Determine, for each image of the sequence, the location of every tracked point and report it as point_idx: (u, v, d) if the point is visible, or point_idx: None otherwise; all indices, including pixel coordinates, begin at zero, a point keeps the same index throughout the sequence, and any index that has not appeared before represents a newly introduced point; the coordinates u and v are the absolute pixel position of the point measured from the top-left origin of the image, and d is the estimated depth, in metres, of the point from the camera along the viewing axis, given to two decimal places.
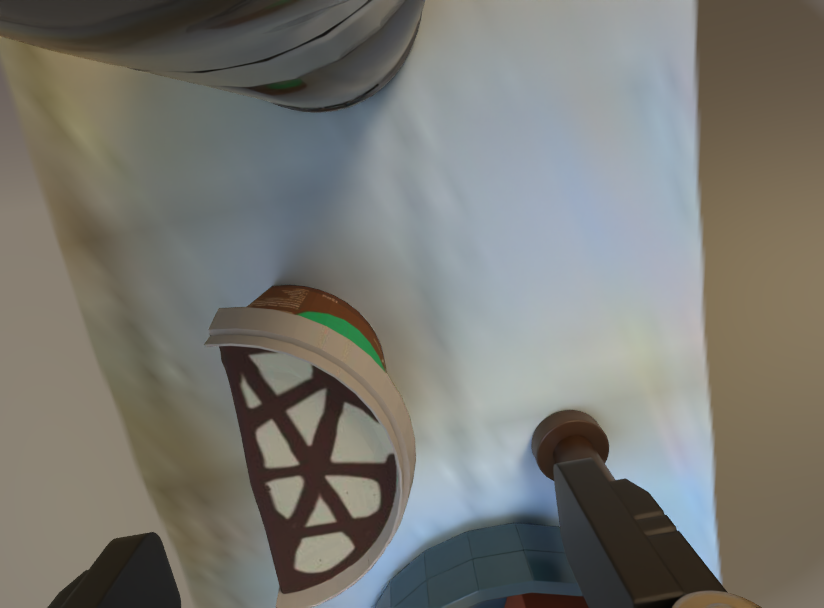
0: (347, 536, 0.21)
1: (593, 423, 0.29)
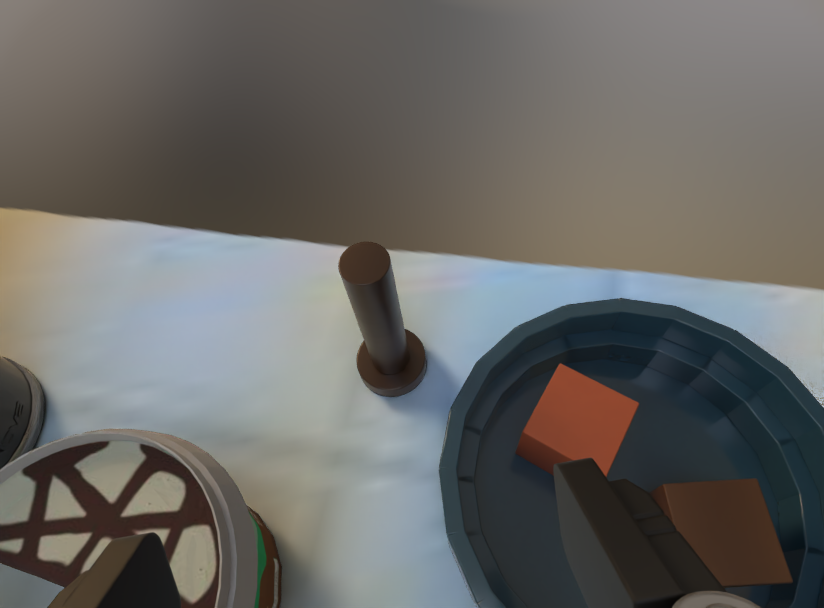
0: (192, 526, 0.20)
1: None
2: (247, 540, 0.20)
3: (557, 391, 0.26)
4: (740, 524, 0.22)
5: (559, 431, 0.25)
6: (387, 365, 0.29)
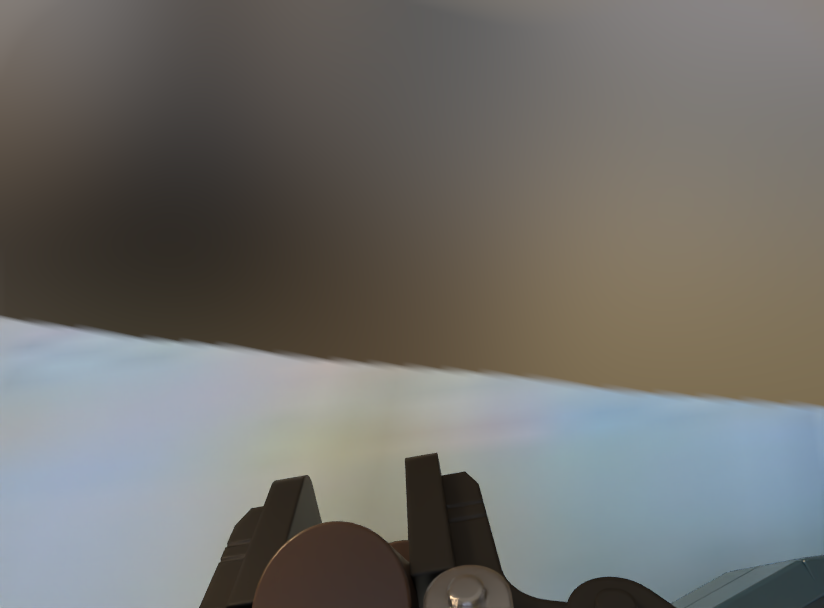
0: None
1: None
2: None
3: None
4: None
5: None
6: None
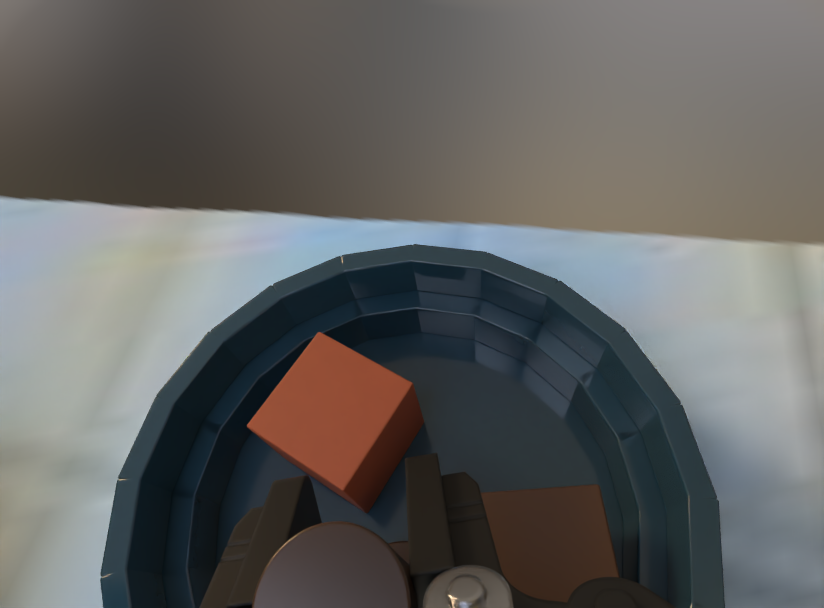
0: None
1: None
2: None
3: (305, 370, 0.18)
4: (564, 554, 0.15)
5: (295, 424, 0.17)
6: None
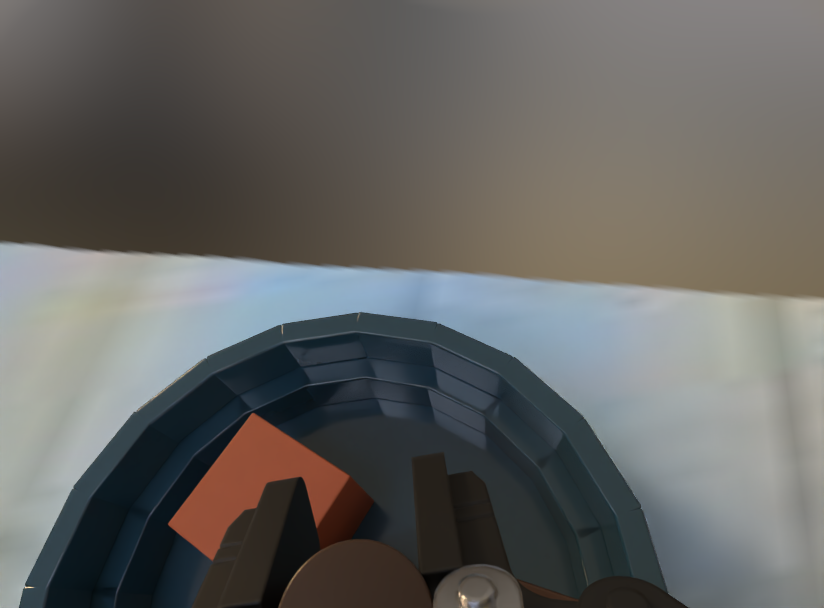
0: None
1: None
2: None
3: (235, 458, 0.17)
4: None
5: (220, 523, 0.16)
6: None
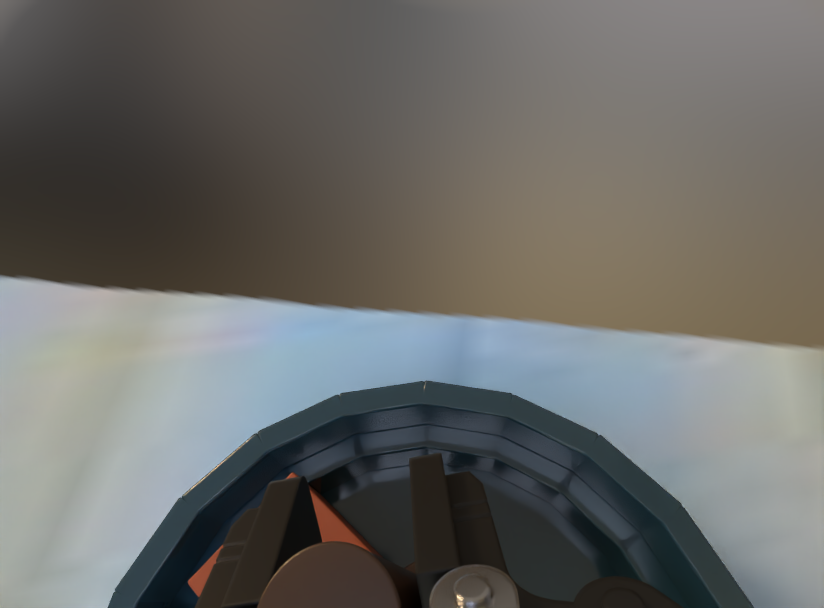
0: None
1: None
2: None
3: None
4: None
5: None
6: None
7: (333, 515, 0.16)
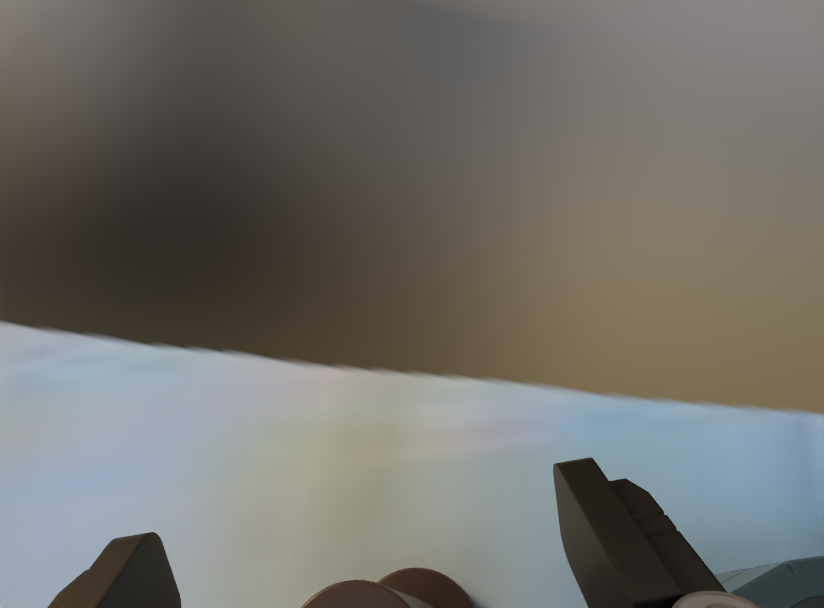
0: None
1: None
2: None
3: None
4: None
5: None
6: None
7: None
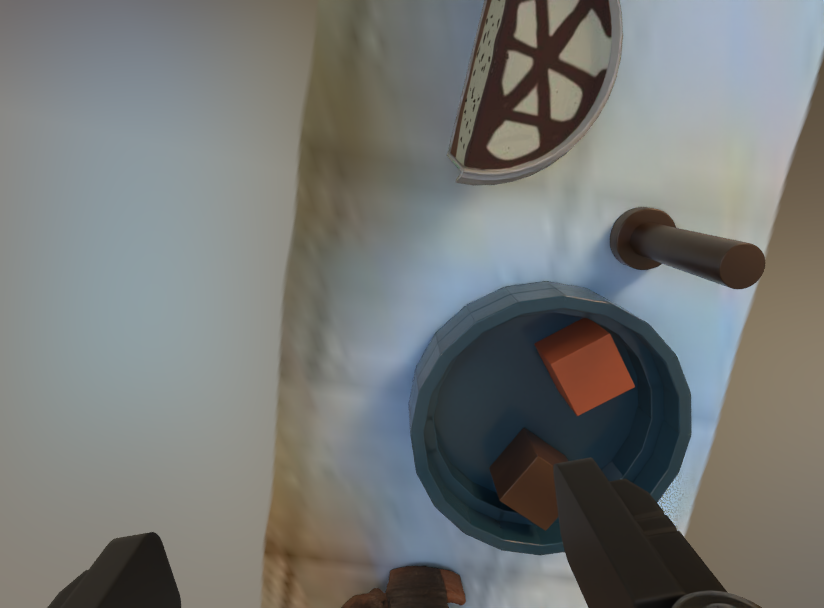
0: (538, 133, 0.25)
1: (675, 226, 0.35)
2: (526, 175, 0.26)
3: (618, 372, 0.33)
4: (538, 503, 0.35)
5: (594, 356, 0.33)
6: (641, 238, 0.33)
7: None
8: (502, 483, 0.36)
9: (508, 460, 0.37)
